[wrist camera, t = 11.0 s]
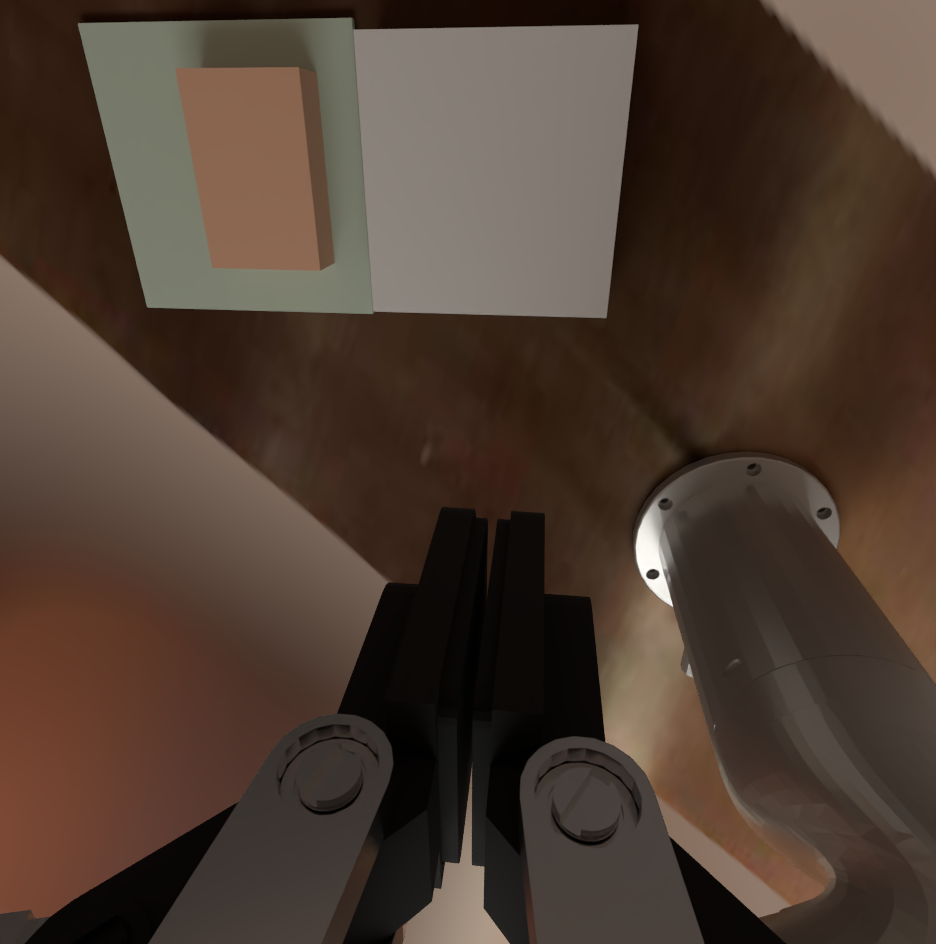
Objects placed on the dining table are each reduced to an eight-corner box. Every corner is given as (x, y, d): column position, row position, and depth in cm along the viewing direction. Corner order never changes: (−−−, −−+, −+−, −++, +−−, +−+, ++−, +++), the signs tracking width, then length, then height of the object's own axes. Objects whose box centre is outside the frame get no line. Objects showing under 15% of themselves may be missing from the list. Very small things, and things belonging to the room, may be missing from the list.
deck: (599, 300, 34) (606, 318, 30) (390, 295, 35) (373, 311, 32) (626, 40, 28) (638, 24, 25) (375, 44, 29) (353, 29, 26)
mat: (374, 312, 36) (373, 313, 35) (151, 305, 37) (147, 307, 37) (354, 19, 29) (351, 17, 29) (83, 24, 30) (77, 23, 30)
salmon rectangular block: (212, 268, 32) (233, 260, 35) (320, 270, 32) (334, 263, 34) (175, 68, 28) (201, 74, 30) (298, 67, 28) (316, 73, 30)
